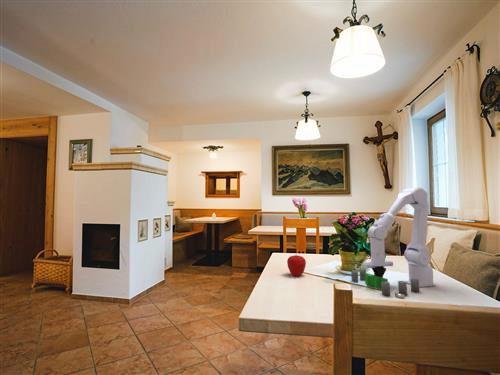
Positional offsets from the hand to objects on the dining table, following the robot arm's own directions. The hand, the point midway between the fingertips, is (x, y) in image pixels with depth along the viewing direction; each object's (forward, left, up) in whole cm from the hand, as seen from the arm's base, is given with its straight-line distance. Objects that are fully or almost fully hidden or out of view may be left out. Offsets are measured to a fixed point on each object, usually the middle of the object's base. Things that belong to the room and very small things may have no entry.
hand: (379, 283), depth 119 cm
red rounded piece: (+27, -28, -2) cm, 39 cm away
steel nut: (+2, +14, -2) cm, 14 cm away
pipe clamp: (+2, 0, -1) cm, 3 cm away
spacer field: (-2, +1, -1) cm, 2 cm away
